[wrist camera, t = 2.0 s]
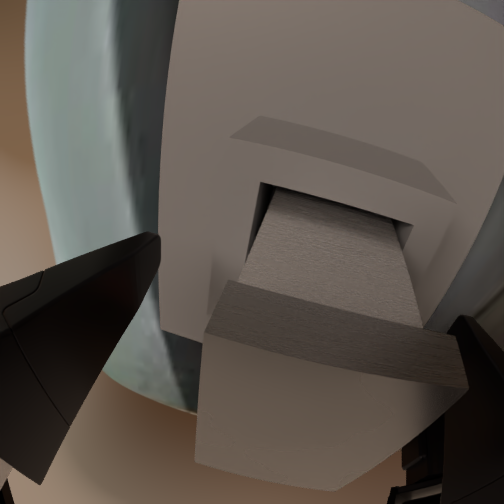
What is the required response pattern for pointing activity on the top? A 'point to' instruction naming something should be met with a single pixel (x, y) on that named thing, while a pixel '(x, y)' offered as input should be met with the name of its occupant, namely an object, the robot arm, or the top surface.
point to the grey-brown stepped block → (320, 351)
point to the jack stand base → (325, 133)
